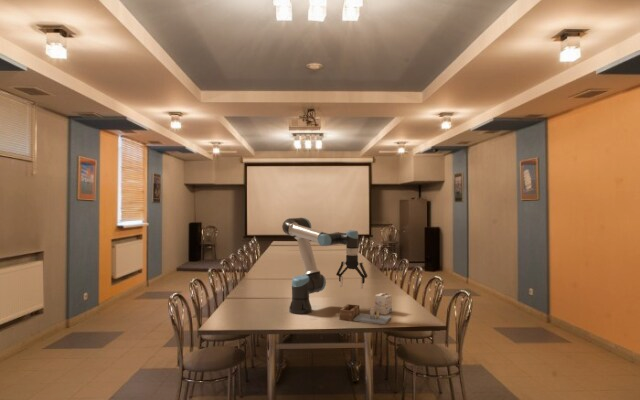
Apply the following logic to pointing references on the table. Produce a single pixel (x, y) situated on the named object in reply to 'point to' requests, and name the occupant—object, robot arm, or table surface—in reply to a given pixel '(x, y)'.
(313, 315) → the table surface
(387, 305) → the ink box
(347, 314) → the hollow block
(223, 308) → the table surface
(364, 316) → the post board
